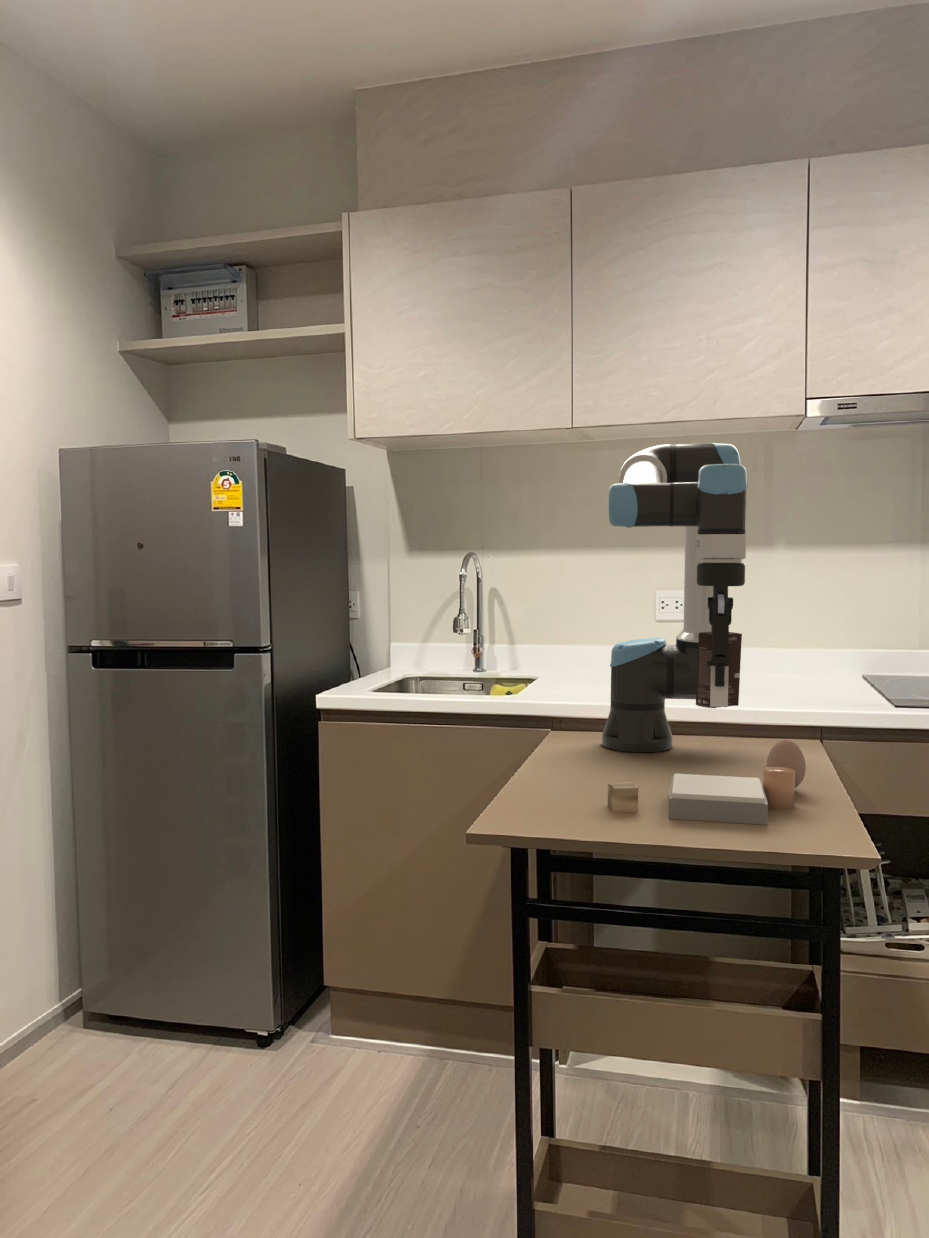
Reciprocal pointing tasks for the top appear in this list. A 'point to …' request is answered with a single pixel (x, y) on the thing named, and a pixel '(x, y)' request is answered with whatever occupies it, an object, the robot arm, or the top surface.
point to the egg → (788, 758)
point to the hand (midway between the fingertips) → (718, 702)
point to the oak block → (623, 797)
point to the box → (705, 670)
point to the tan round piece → (779, 787)
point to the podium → (718, 799)
